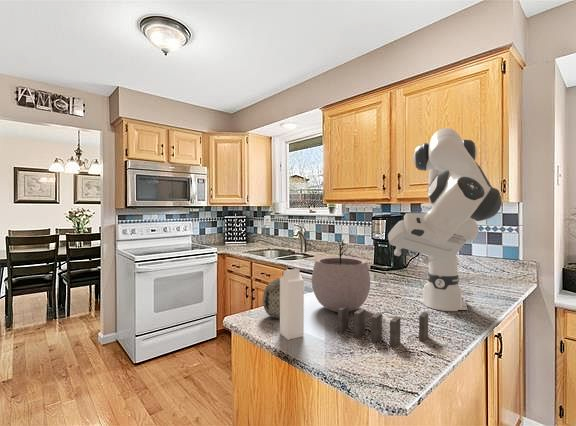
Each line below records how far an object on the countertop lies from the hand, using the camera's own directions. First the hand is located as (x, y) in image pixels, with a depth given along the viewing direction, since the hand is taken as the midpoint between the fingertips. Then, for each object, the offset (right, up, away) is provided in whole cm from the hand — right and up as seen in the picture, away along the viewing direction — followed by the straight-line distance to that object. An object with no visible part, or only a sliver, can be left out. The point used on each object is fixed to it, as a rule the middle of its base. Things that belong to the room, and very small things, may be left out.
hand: (410, 258), depth 97 cm
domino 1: (-19, -27, +12) cm, 35 cm away
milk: (-37, -27, +8) cm, 46 cm away
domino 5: (+6, -27, +5) cm, 28 cm away
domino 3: (-9, -27, +5) cm, 29 cm away
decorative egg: (-42, -27, +24) cm, 55 cm away
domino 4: (-4, -27, +1) cm, 28 cm away
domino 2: (-14, -27, +8) cm, 32 cm away
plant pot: (-16, -27, +34) cm, 46 cm away
